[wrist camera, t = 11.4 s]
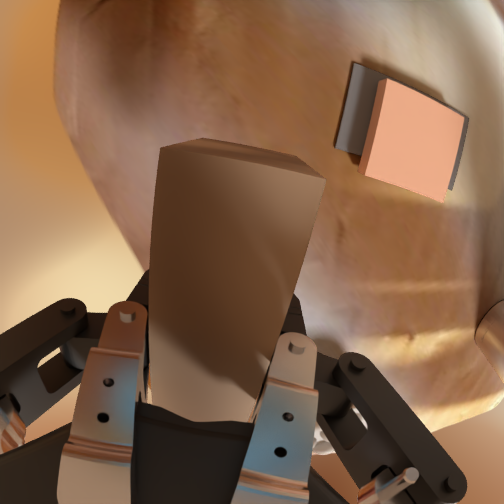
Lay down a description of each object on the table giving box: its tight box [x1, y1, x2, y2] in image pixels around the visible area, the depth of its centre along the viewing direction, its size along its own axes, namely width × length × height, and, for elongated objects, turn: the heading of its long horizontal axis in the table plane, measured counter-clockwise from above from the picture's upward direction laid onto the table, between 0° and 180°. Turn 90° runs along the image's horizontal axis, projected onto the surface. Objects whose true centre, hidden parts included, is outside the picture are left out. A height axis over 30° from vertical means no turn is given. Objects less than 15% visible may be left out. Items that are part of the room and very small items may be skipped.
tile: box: [358, 78, 464, 203], centre depth 22 cm, size 9×2×9 cm
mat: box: [335, 63, 469, 190], centre depth 23 cm, size 14×8×1 cm, turn 78°
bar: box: [149, 138, 326, 422], centre depth 10 cm, size 4×12×5 cm, turn 169°
